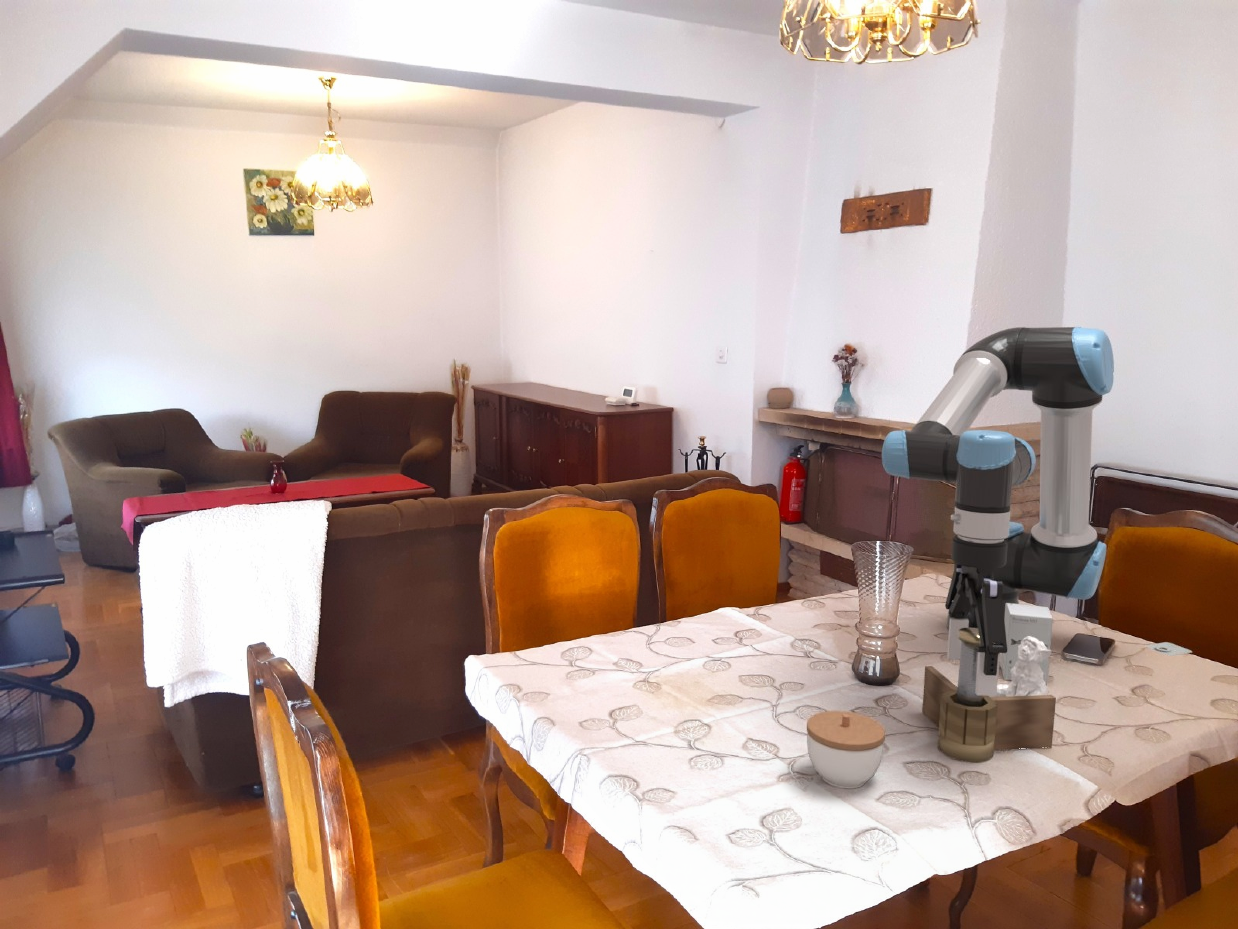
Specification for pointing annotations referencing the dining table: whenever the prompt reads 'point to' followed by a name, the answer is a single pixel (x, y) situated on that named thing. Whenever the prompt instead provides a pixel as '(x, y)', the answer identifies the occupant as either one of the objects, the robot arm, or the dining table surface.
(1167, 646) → the mounting bracket
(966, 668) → the hinge pin
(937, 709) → the hinge
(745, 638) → the dining table surface
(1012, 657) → the supplement box
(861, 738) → the lidded jar
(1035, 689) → the sitting furry creature
